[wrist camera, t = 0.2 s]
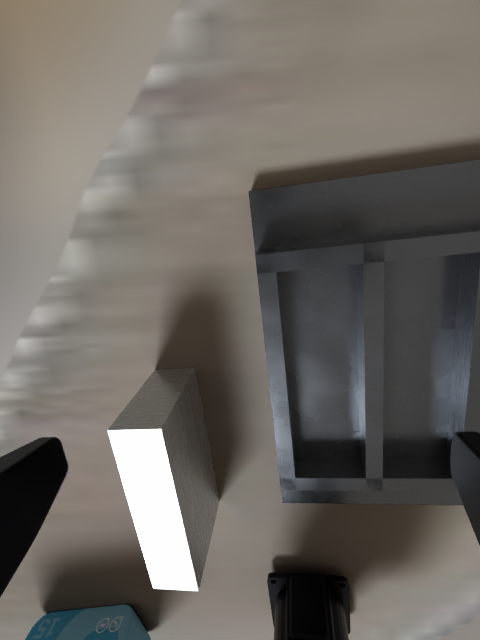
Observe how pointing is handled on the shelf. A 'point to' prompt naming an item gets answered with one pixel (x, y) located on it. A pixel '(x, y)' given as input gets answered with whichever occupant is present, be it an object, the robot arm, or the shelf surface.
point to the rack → (371, 331)
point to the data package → (90, 625)
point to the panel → (168, 476)
